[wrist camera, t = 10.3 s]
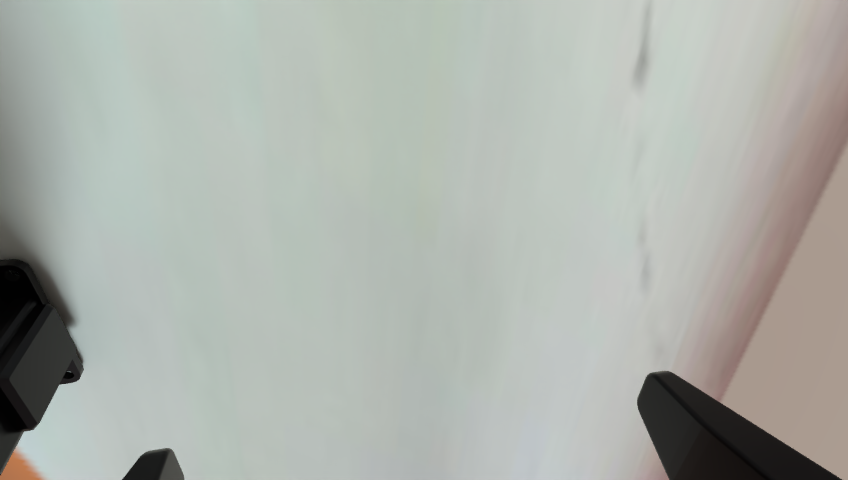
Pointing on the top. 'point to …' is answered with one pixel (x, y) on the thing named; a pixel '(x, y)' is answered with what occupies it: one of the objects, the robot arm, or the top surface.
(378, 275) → the top surface
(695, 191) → the top surface
